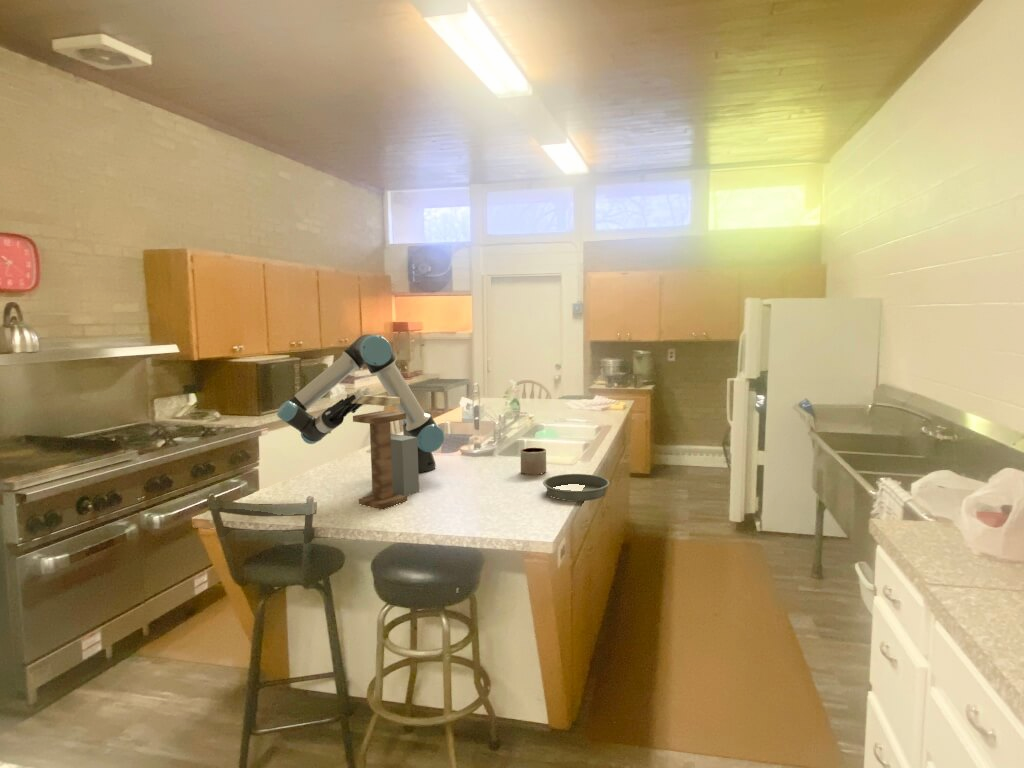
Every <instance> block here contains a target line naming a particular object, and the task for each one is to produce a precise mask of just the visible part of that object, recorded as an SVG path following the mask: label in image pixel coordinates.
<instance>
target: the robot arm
mask: <svg viewBox="0 0 1024 768" xmlns="http://www.w3.org/2000/svg"><path fill="white" fill-rule="evenodd" d="M396 361H397V358H396V356H395V355H394V353H393V348H392V345H391V343H390V342H389V341H388V340H387V338H385V337H384V336H382V335H380V334H364V335H361V336H358V338H357V339H356V340H354V341H353V342H352V343H351V344H350V345H349V346H348V347H346V348H345V350H343V351H342V354H341V356H340V357H338V358H337V360H335V361H334V362H333V363H332V364H330V366H328V367H327V368H325V369H324V371H322V372H321V373H320V374H319V375H317V376H316V377H315V378H314V379H313V380H311V381H310V382H309V383H308V384H306V385H305V386H304V387H303V388H301V390H299V391H298V392H297V393H296V394H295V395H294V396H293V397H291V398H290V399H289V400H287V401H284V402H283V403H281V404H280V406H279V409H278V410H277V414H276V415H277V417H278V419H280V420H281V421H282V422H284V423H285V424H288V425H289V426H291V427H293V428H294V429H296V431H298V432H300V437H301V439H302V440H303V442H304V443H306V444H308V445H315V444H316V443H318V442H320V441H321V440H322V439H323V438H325V437H326V436H327V435H329V434H331V433H332V431H333V430H335V429H336V428H338V427H339V426H340V425H342V423H343V422H344V419H345V417H346V416H347V415H348V414H350V413H352V414H354V413H356V411H357V410H359V408H361V407H362V406H364V404H357V403H355V402H356V401H357V400H358V399H360V398H361V397H362V396H364V395H363V394H366V395H372V392H371V391H370V388H369V387H366V388H365V389H364V390H362V389H361V388H358V389H357V390H356V391H354V393H351V394H352V395H351V396H350V397H349V398H347V397H346V398H345V399H344V398H342V399H340V400H339V401H337V402H336V403H335V404H333V405H332V406H330V407H328V408H327V409H326V410H324V411H323V412H321V413H320V414H319V415H317V416H316V417H315V416H313V415H311V414H310V413H309V412H307V410H309V409H310V408H312V406H313V405H315V404H316V403H317V402H318V401H319V400H321V399H322V398H323V397H324V396H325V395H326V394H328V393H329V392H330V391H331V390H333V389H334V388H335V387H336V386H337V385H339V384H340V382H342V381H344V379H346V378H347V377H348V376H349V375H350V374H351V373H352V372H354V371H355V370H357V371H358V370H360V369H361V368H362V367H364V366H365V367H366V368H367V370H368V371H369V373H370V374H371V375H374V376H376V377H377V379H378V380H379V382H380V383H381V385H382V386H383V388H384V390H385V391H386V393H387V394H388V396H392V397H400V406H396V407H395V408H396V409H397V410H398V412H399V413H406V419H402V420H403V421H402V428H403V429H402V431H403V432H402V433H403V434H402V435H404V436H412V437H417V444H418V473H424V471H426V472H430V471H429V470H431V471H433V470H432V469H434V468H435V467H437V466H436V460H435V457H434V455H433V453H432V452H435V451H438V450H439V449H440V448H441V447H442V446H443V444H444V441H445V434H444V431H443V429H442V427H441V426H439V425H438V424H437V423H436V422H435V420H434V419H433V417H432V415H431V414H430V413H427V412H425V411H424V409H423V408H422V406H421V404H420V403H419V401H418V399H417V398H416V396H415V395H414V393H413V391H412V390H411V388H410V386H409V385H408V383H407V381H406V380H405V377H404V376H403V375H402V373H401V372H400V369H399V368H398V367H397V365H396ZM435 469H436V468H435ZM435 469H434V470H435Z"/></svg>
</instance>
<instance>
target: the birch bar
mask: <svg viewBox="0 0 1024 768" xmlns="http://www.w3.org/2000/svg"><path fill="white" fill-rule="evenodd" d="M352 394H353V393H349V394H348V393H347V394H346V398H349V397H350V396H351V395H352ZM363 395H364V396H362V397H361V398H360V399H358V400H357V401H356V402H355V403H357V404H363V405H370V406H380V407H390V408H391V407H392V408H393V407H394V408H397V407H396V406H400V397H392V396H389V395H375V394H371V395H366V394H363Z"/></svg>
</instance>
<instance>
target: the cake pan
mask: <svg viewBox="0 0 1024 768" xmlns="http://www.w3.org/2000/svg"><path fill="white" fill-rule="evenodd" d="M568 484H579V485H585V487H584V488H583V490H582V491H571V490H560V489H555V488H553V487H556V486H561V485H568ZM610 484H611V483H610V481H609V480H608V479H607V478H605V477H602V476H600V475H594V474H587V473H586V474H585V473H567V474H566V473H565V474H558V475H552V476H551V477H550V476H549V477H547V478H546V479H544V480H543V482H542V485H543V486H544V487H545V488H546V490H547V494H548V496H549V495H550V496H549V497H551V496H552V497H551V498H553V497H555V498H554V499H556V498H559V499H558V500H561V499H565V500H564V501H568V500H572V501H571V502H584V501H585V502H586V501H592V500H593V501H594V500H598V499H601V498H603V497H604V496H605V495H606V492H607V488H608V487H609V486H610Z"/></svg>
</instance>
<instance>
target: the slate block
mask: <svg viewBox="0 0 1024 768" xmlns="http://www.w3.org/2000/svg"><path fill="white" fill-rule="evenodd" d="M369 443H370V446H371V441H370V442H369ZM391 458H392V483H393V493H395V494H400V495H404V496H406V495H407V496H410V495H413V494H412V493H414V494H416V492H417V493H419V492H420V481H419V480H420V479H419V478H420V476H419V473H420V472H418V444H417V437H412V436H404V435H403V434H395V433H391ZM371 470H372V465H371ZM371 488H372V487H371ZM371 491H373V488H372V489H371ZM409 494H410V495H409Z"/></svg>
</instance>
